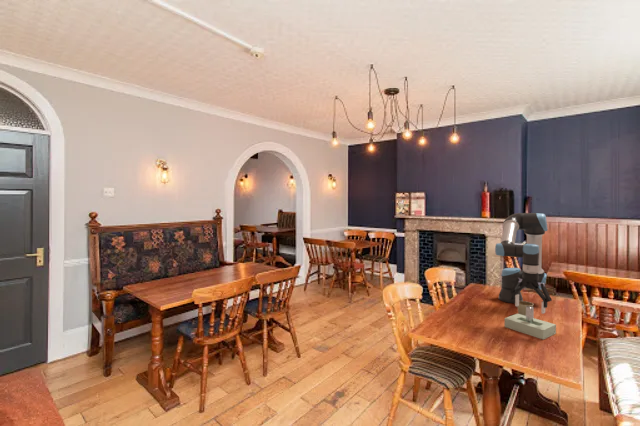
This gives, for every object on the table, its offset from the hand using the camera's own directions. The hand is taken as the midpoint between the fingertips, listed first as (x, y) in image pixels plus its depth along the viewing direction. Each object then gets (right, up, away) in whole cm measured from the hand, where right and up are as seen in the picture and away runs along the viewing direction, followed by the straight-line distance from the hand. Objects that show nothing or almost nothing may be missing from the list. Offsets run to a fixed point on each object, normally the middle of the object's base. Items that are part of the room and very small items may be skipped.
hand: (529, 309), depth 178 cm
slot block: (0, -12, 0) cm, 12 cm away
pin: (0, -11, 0) cm, 11 cm away
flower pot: (+10, -11, +20) cm, 25 cm away
